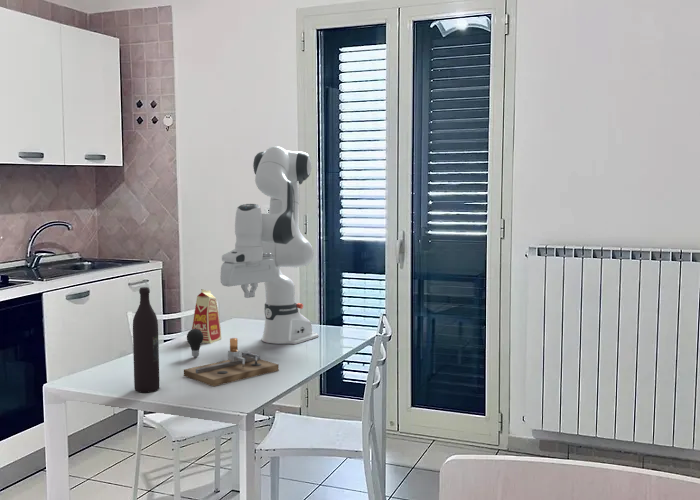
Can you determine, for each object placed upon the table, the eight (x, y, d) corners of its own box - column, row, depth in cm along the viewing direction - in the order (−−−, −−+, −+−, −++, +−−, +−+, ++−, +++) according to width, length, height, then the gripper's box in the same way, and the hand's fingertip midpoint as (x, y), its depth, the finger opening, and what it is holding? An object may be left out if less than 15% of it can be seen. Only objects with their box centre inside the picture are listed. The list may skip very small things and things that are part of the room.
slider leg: (234, 362, 229) (234, 337, 229) (247, 366, 225) (247, 340, 224) (228, 363, 228) (228, 338, 227) (241, 367, 223) (240, 342, 222)
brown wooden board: (247, 361, 240) (247, 355, 240) (278, 370, 229) (278, 364, 228) (183, 375, 222) (183, 369, 222) (213, 386, 211) (213, 379, 211)
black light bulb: (199, 359, 242) (199, 330, 241) (184, 359, 243) (183, 330, 242) (206, 355, 247) (205, 327, 246) (191, 355, 248) (190, 326, 247)
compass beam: (256, 358, 236) (256, 349, 235) (269, 362, 231) (269, 352, 231) (194, 372, 218) (194, 362, 218) (206, 376, 214) (206, 366, 214)
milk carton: (210, 343, 266) (209, 290, 264) (189, 341, 269) (188, 289, 267) (223, 338, 274) (222, 287, 272) (202, 336, 277) (201, 285, 275)
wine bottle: (157, 392, 204) (154, 289, 201) (132, 393, 204) (129, 289, 201) (161, 385, 211) (159, 285, 208) (137, 386, 211) (134, 286, 208)
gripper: (268, 251, 238) (268, 292, 240) (217, 256, 224) (217, 299, 225) (280, 253, 234) (280, 294, 235) (229, 258, 219) (229, 302, 221)
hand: (249, 297), depth 230 cm, fingers closed
